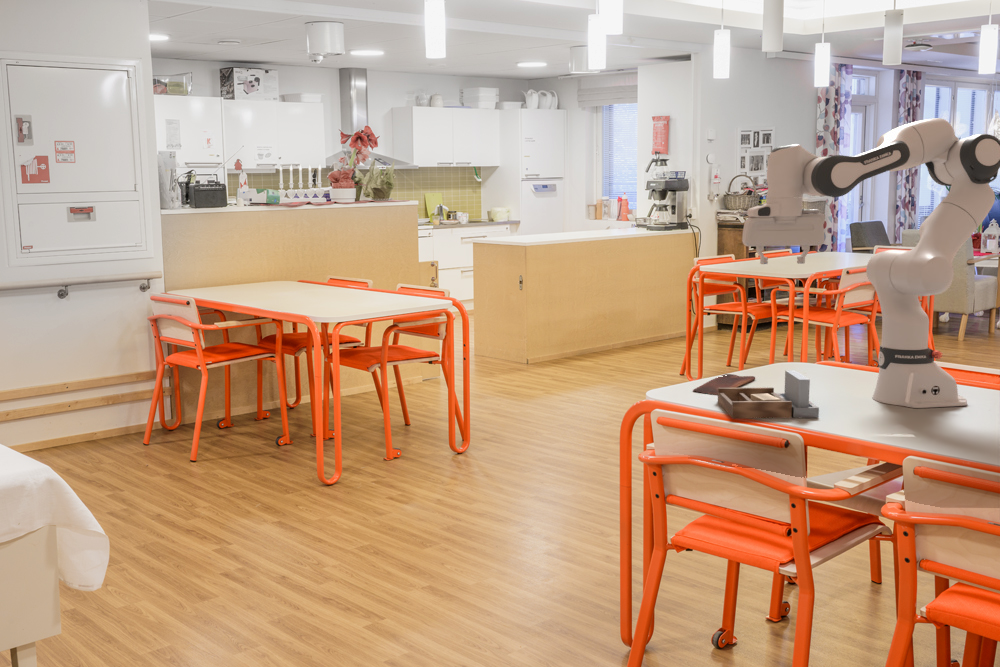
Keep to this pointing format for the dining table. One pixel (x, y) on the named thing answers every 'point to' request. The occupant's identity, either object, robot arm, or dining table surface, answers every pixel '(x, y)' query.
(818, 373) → the dining table surface
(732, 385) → the wooden tablet
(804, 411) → the stand
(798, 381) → the gray rectangular panel
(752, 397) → the offcut short
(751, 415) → the divided tray
